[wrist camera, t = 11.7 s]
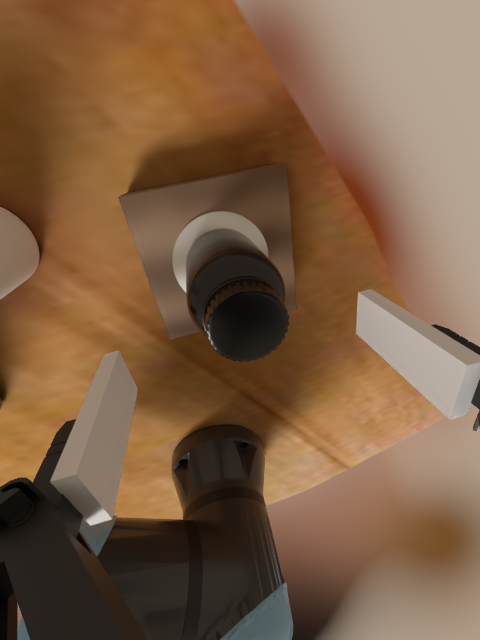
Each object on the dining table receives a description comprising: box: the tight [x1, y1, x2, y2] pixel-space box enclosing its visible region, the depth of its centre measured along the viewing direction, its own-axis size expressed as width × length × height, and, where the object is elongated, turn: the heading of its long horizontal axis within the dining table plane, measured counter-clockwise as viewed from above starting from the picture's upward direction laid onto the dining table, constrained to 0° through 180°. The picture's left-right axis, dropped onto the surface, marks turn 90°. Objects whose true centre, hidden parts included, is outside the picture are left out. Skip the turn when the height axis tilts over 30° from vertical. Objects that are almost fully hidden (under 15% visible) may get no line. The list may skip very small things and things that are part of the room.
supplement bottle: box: [186, 228, 289, 362], centre depth 20 cm, size 7×7×12 cm
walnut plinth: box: [118, 164, 297, 339], centre depth 27 cm, size 14×14×4 cm
